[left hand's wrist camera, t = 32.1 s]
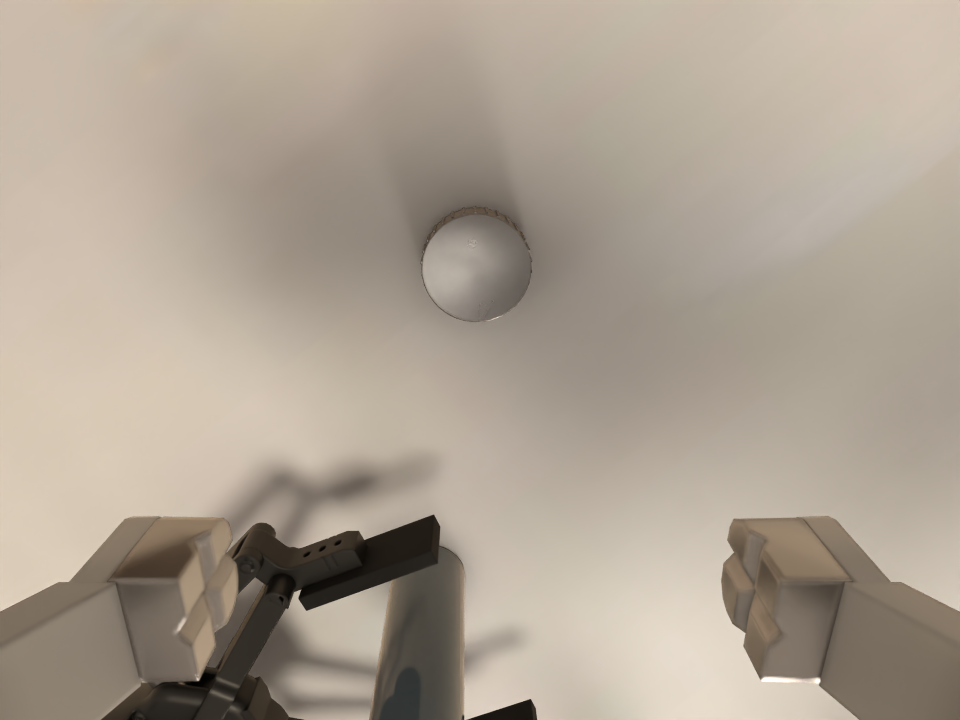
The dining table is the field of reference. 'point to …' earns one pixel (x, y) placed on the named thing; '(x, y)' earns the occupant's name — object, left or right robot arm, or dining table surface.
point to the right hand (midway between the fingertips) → (490, 638)
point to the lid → (476, 265)
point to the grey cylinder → (423, 646)
